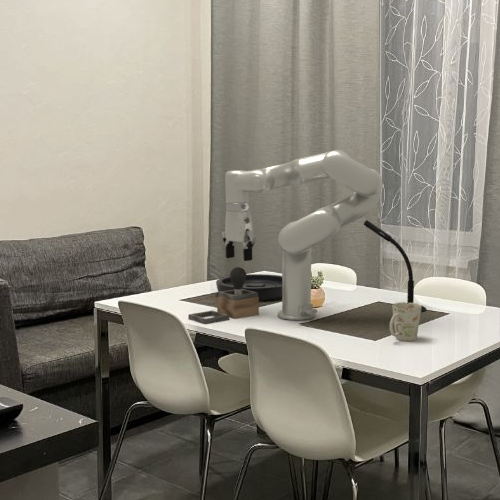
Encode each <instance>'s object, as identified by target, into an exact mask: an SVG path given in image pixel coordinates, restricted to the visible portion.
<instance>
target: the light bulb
mask: <svg viewBox="0 0 500 500" xmlns="http://www.w3.org/2000/svg"><path fill="white" fill-rule="evenodd" d="M229 276H230V279H231V281H232V283H233V286H234V290H235V291H234V294H235V295H242V288H243V284H244V282H245V280H246V277H247V272H246V270H245V269H244V268H243V267H239V266H238V267H234V268H232V269H231V271H230V273H229Z"/></svg>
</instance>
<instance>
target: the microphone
mask: <svg viewBox="0 0 500 500" xmlns="http://www.w3.org/2000/svg"><path fill="white" fill-rule="evenodd" d="M363 226H364V227H366V228H367V229H368V230H370V231H372V232H374V233H375V234H376V235H378V236H379V237H380V238H382V239H383V240H386V241H387V242H390V243H391V244H392V245H393V246H394V247H395V248H396V249H397V250H398V251H399V252H400V254H401V256H402V258H403V259H404V262H405V264H406V267H407V268H406V269H407V273H408V274H407V275H408V280H407V298H406V299H407V302H404V301H403V302H402V303H415V301H414V298H415V296H414V294H415V293H414V292H415V280H414V275H413V268H412V265H411V262H410V259H409V257H408V255H407V253H406V252H405V250H404V248H403V247H402V246H401V245H400V244H399V243H398V242H397V241H396V240H395V239H394V238H392V236H391V235H390V234H388V233H387V232H386V231H384V230H383V229H381V228H379V227H378V226H376V225H375V224H374V223H372V222H371V221H370V220H364V222H363ZM420 305H421V304H420ZM426 311H427V307H426V306H424V305H421V313H424V312H426Z"/></svg>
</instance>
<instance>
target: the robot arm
mask: <svg viewBox="0 0 500 500" xmlns="http://www.w3.org/2000/svg"><path fill="white" fill-rule="evenodd" d="M224 178H225V209H226V210H225V219H224V220H225V221H224V222H225V223H224V230H223V231H221V236H222V241H223V243H224V247H225V258H227V259H230V258H231V259H233V258H235V245H234V243H239V244H242V245H243V248H242V249H243V250H242V252H243V253H242V254H243V261H244V262H249V261H252V260H253V249H254V245H255V243H256V237H257V236H256V235H255V233H254V230H253V229H254V227H253V220H252V215H251V212H250V210H249V209H250V204H249V202H250V200H249V199H250V198H249V193H258V194H259V193H263V192H266V191H270V190H274V189H280V188H284V187H288V186H295V185H296V186H301V185H302V186H303V185H306V184H307V185H308V184H311V183H316V182H321V181H326V180H329V179H332V180H333V181H335V182H337V183H338V184H340V185H342V186H344V187H346V188H348V189H349V190H351V191H352V192H351V193H349V194H347V195H346V196H344V197H342V198H340V199H338V200H337V201H335V202H333V203H330V204H328V205H327V206H324V207H319V208H318V209H316V210H315V211H313V212H312V213H310V214H307V215H306V216H304V217H302V218H299V219H298V220H295V221H291V222H289V223H288V224H286V225H285V226H284V227H283V228H282V229H281V230H280V232H279V233H278V246H279V247H280V249H281V250H282V264H281V265H282V269H281V273H282V275H281V276H282V299H281V305H282V306H281V308H282V309H281V310H279V311H277V317H278V318H280V319H283V320H289V321H290V320H291V321H303V320H304V321H306V320H311V319H314V318H315V317H316V314H317V313H318V309H317V308H314V304H313V303H312V252H313V251H312V250H313V249H312V248H313V247H315V246H317V245H319V244H320V243H323V242H324V241H327V240H328V239H330V238H332V237H333V236H335V235H336V234H337V232H338V231H339V230H341V229H344V227H345V228H346V227H347V226H349V225H350V224H352V223H354V222H356V221H358V220H359V219H362V218H363V217H365V216H367V214H369V213H370V212H371V211H373V209H374V208H375V206H376V205H377V204H378V202H379V200H380V198H381V194H382V188H383V187H382V186H383V180H382V179H383V178H382V176H381V174H380V173H379V172H378V171H377V170H376V169H374V168H369V167H368V166H366V165H364V164H362V163H360V162H358V161H357V160H355V159H354V158H351V157H350V156H349V155H348V154H347V153H346V152H345V151H343V150H341V149H339V150H338V149H335V150H329V151H327V152H321V153H318V154H312V155H307V156H305V157H300V158H296V159H293V160H291V161H289V162H286V163H281V164H278V165H273V166H269V167H262V168H257V169H253V170H247V171H246V170H243V169H242V170H240V169H239V170H238V169H237V170H228V171H226V173H225V176H224Z"/></svg>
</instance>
